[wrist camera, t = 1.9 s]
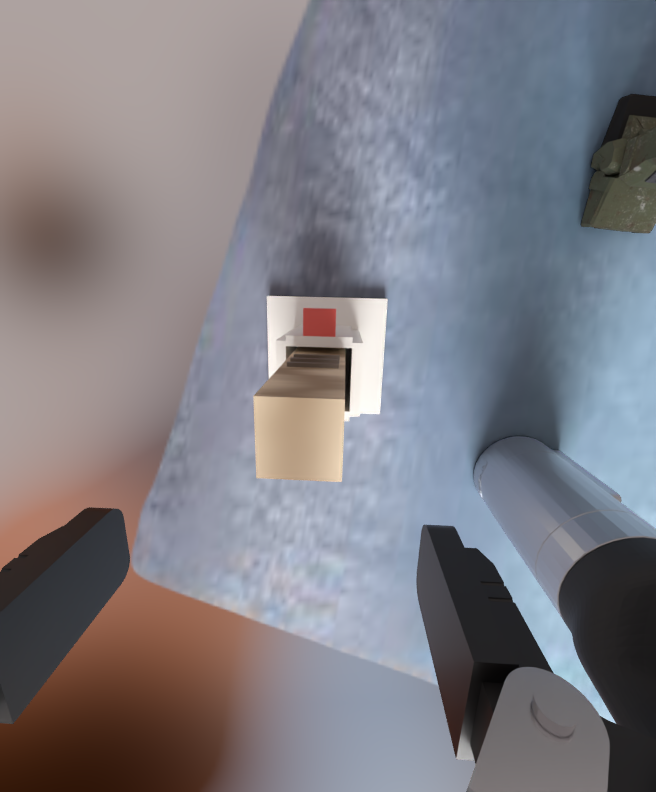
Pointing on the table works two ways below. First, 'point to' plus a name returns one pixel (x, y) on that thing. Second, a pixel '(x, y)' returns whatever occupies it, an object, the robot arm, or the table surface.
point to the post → (302, 417)
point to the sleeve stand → (334, 340)
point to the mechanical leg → (625, 170)
